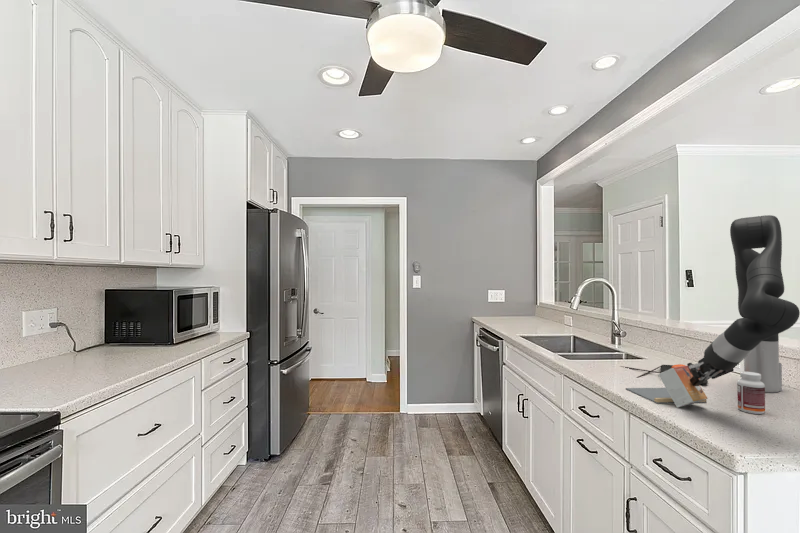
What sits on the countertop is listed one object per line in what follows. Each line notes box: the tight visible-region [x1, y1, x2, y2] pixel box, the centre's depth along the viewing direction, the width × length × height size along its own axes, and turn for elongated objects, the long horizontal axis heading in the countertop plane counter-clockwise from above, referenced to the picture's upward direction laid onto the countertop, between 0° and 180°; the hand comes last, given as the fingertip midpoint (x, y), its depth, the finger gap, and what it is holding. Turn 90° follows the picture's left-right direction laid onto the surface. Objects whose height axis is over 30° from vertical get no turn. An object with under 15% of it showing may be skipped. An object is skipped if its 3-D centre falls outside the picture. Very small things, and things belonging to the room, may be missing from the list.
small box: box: [657, 365, 708, 408], centre depth 126 cm, size 8×6×10 cm
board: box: [625, 387, 707, 405], centre depth 136 cm, size 16×16×1 cm
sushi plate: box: [620, 363, 709, 385], centre depth 167 cm, size 29×30×4 cm
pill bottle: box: [736, 371, 766, 415], centre depth 121 cm, size 6×6×11 cm
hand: (693, 383), depth 124 cm, fingers closed
